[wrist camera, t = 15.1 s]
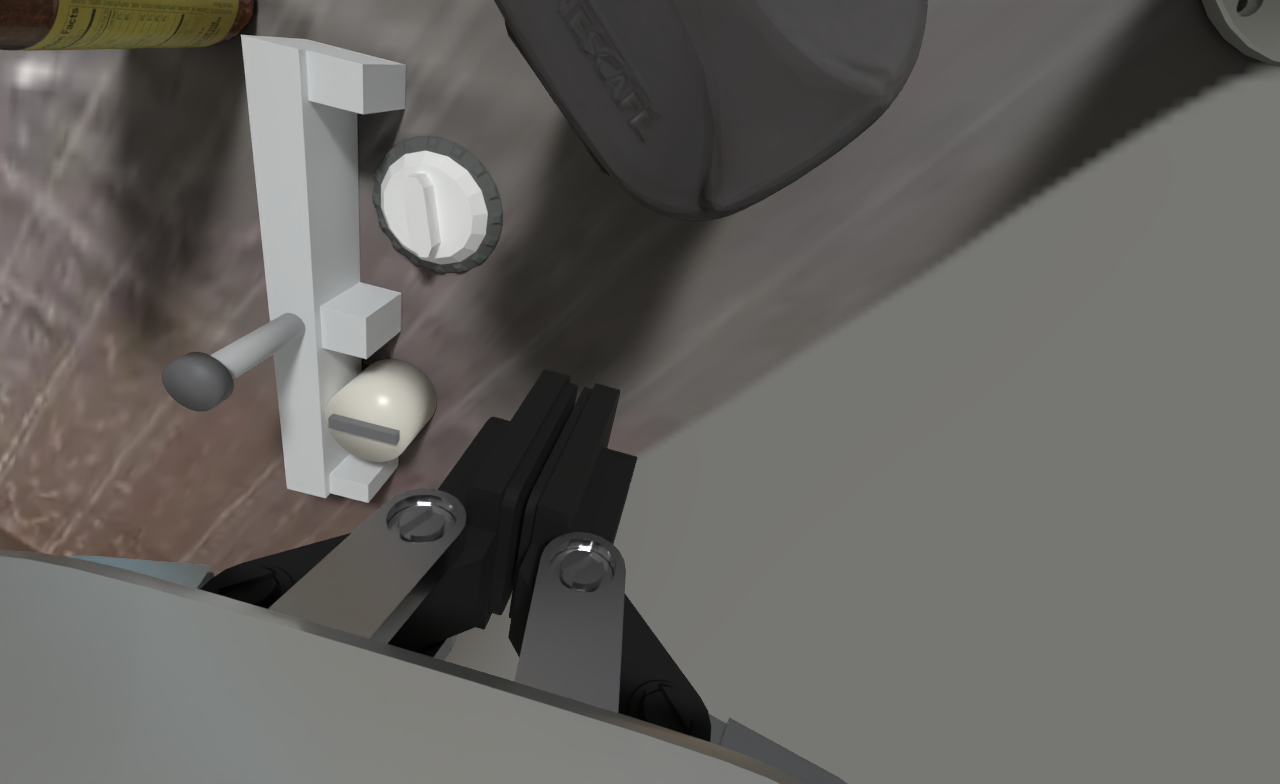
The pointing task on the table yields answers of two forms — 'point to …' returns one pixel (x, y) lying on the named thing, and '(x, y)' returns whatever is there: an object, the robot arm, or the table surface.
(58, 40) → the sauce bottle
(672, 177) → the coffee jar
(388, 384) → the knob slider
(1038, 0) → the table surface
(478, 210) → the stove knob
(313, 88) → the mount
